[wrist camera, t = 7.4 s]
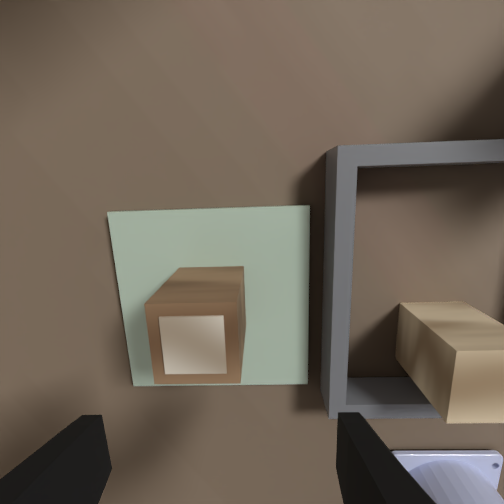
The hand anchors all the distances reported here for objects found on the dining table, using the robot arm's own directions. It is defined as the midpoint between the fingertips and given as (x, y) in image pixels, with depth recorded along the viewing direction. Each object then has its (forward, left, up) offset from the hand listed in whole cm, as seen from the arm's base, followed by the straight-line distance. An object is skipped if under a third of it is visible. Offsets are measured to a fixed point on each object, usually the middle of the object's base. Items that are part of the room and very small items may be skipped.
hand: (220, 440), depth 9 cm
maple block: (-2, -12, -10) cm, 16 cm away
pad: (0, +2, -10) cm, 10 cm away
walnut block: (+1, +2, -10) cm, 10 cm away
